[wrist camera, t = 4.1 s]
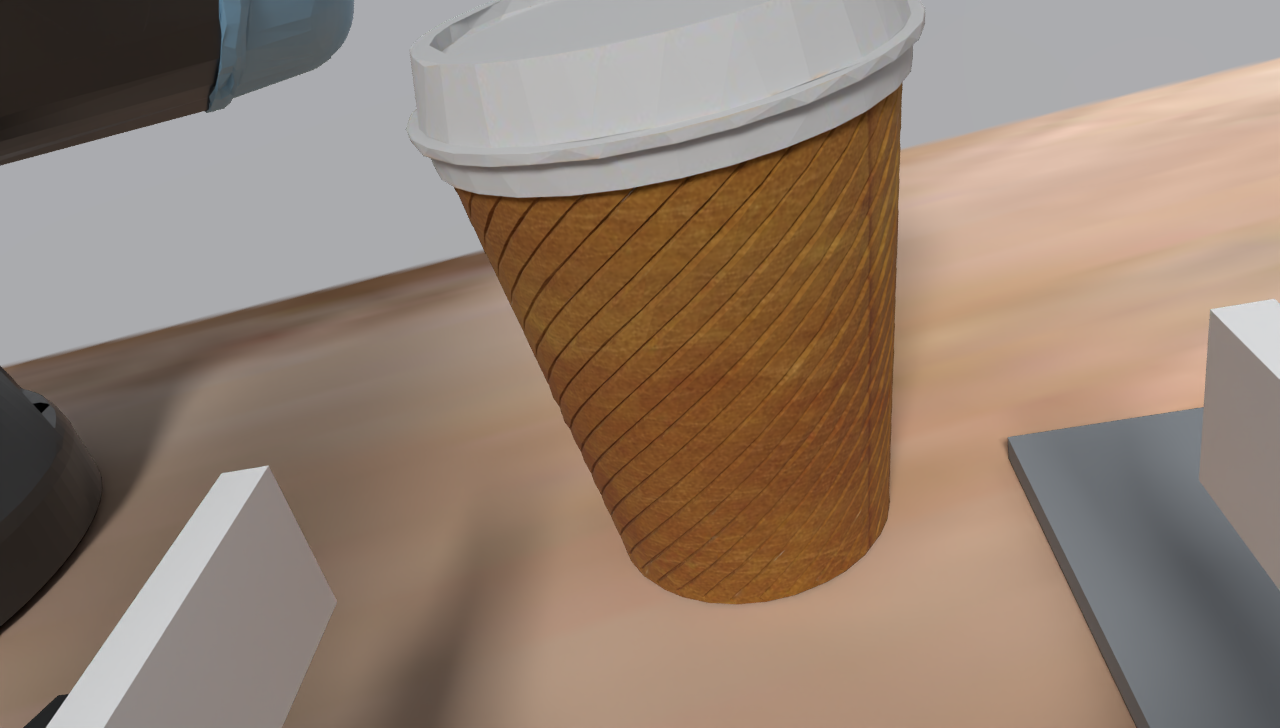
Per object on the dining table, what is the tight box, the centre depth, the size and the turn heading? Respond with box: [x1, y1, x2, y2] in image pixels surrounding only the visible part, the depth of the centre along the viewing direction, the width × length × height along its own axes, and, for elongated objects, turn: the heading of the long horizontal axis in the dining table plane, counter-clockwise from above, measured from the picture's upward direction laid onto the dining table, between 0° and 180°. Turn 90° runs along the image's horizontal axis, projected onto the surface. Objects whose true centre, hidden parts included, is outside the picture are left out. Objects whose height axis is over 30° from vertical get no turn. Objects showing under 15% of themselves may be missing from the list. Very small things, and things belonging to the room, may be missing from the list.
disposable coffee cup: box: [406, 0, 925, 604], centre depth 20 cm, size 10×10×12 cm
